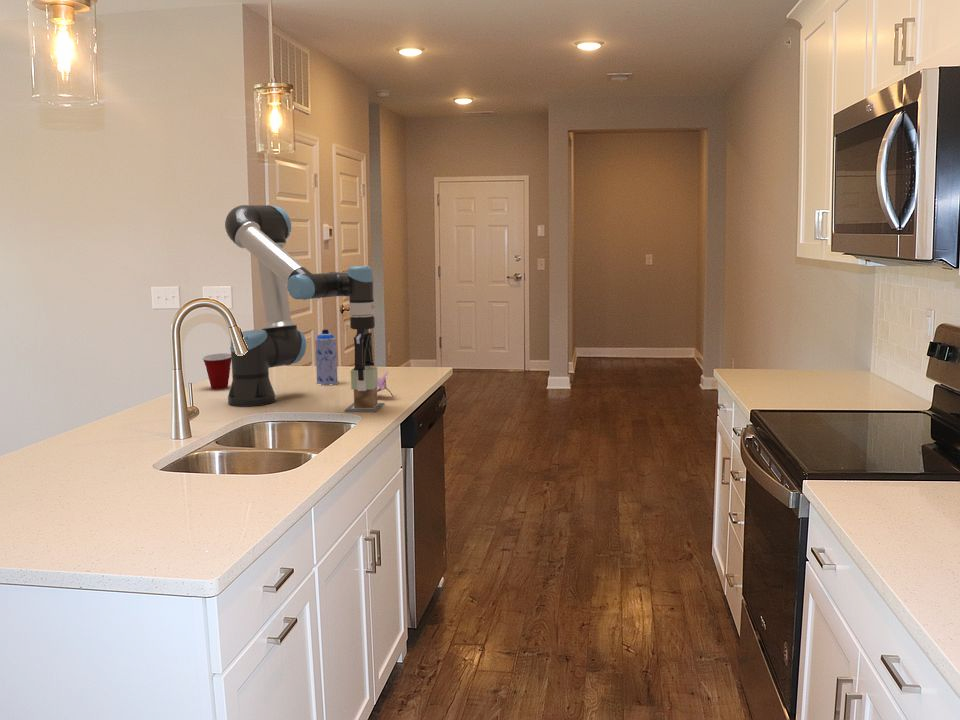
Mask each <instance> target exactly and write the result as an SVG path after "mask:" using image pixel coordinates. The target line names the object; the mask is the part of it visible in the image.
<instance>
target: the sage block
mask: <svg viewBox="0 0 960 720" xmlns="http://www.w3.org/2000/svg"><path fill="white" fill-rule="evenodd" d="M365 370H366V387H367V390H374V389H375V388H376V387H377V386H378V378H379V377H378V367H377V366H372V367H365ZM350 386H351V388H350V389H351V390H354V389H357V370H354V368H353V369H351V370H350Z"/></svg>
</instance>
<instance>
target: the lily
mask: <svg viewBox="0 0 960 720" xmlns="http://www.w3.org/2000/svg"><path fill="white" fill-rule="evenodd" d="M390 372H391V369H389V370H385V372H384V374H383V375H382V377H378V386H377V393H378V392H381V391H383V390H387V391H388V392H389V393H390V395H391V396H392V397H393V398H394V395H393V394H392V392H391V391H390V389H389V388H388V387H387V381H386V378H387V376H388V375H389V373H390Z"/></svg>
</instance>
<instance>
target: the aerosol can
mask: <svg viewBox="0 0 960 720" xmlns="http://www.w3.org/2000/svg"><path fill="white" fill-rule="evenodd" d="M314 342H315V362H316V363H315V366H316V385H317V384H321V385H320V386H331V385H330V384H335V385H337V384H336V383H338V384H339V381H338V357H337V339H336V337H335V336H334V335H333V334H332V333H330V332H329V329H327V328H326V329H322V330H321V333H320V334H318V335H317V336H316V337H315V341H314Z"/></svg>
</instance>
